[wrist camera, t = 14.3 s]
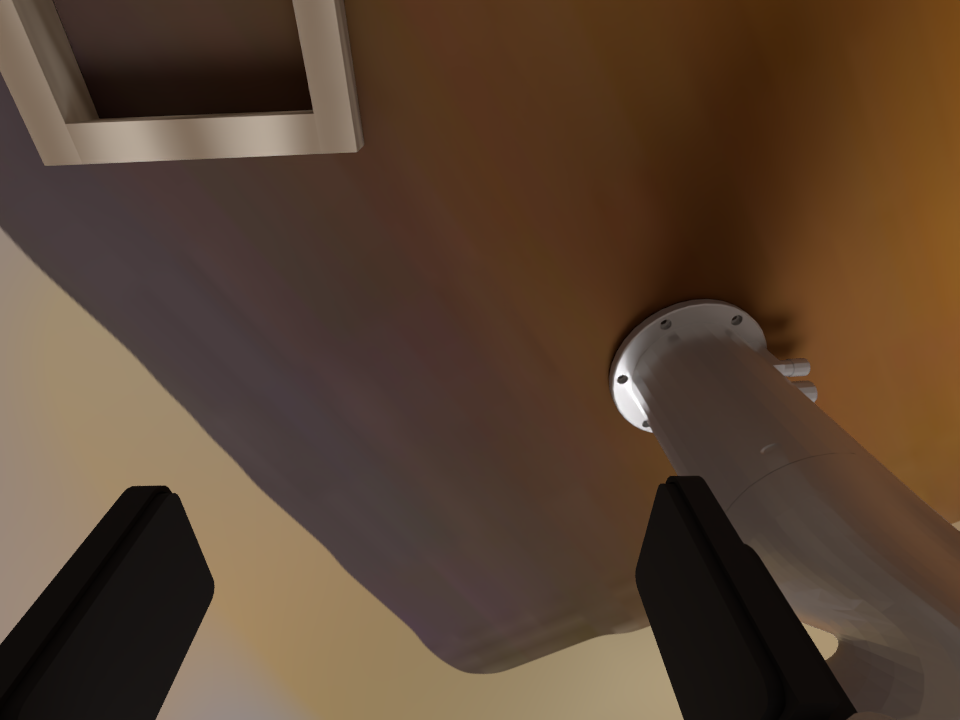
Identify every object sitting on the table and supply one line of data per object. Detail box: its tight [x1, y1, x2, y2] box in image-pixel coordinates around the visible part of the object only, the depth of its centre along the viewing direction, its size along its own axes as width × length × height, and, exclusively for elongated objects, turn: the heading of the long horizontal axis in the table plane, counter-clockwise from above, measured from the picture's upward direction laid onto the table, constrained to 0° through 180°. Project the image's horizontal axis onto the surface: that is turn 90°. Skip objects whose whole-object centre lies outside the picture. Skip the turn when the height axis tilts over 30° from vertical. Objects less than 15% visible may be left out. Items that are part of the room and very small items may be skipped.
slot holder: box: [0, 0, 364, 166], centre depth 25 cm, size 17×14×3 cm
